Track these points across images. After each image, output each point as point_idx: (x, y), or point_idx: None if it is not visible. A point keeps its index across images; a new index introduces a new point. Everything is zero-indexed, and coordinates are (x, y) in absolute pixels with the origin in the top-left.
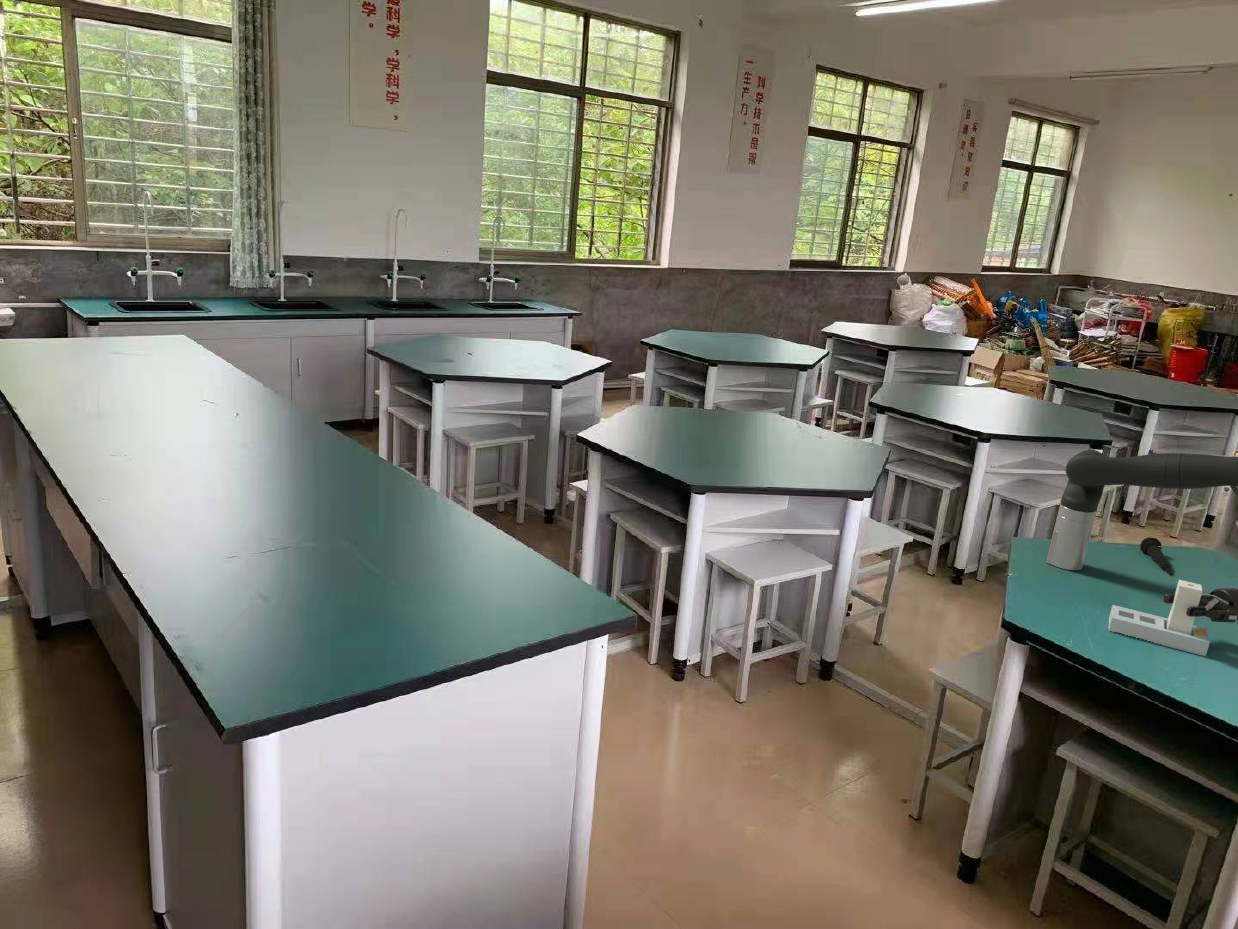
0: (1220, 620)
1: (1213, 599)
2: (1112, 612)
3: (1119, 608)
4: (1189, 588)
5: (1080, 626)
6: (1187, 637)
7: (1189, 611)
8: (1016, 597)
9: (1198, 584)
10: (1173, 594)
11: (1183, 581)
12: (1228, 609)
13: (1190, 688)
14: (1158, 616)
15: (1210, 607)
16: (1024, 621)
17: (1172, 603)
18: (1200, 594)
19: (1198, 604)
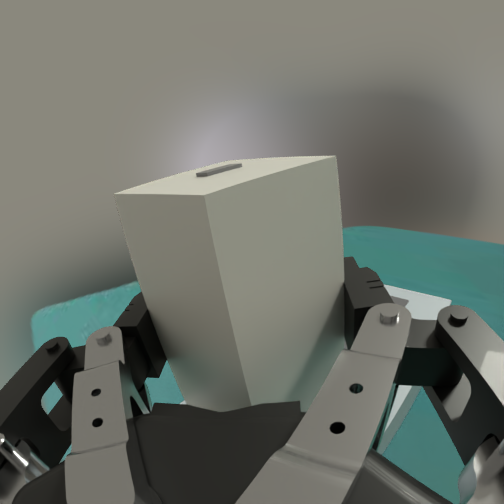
0: (51, 413)
1: (119, 444)
2: (384, 285)
3: (428, 306)
4: (183, 173)
5: None
6: (183, 403)
7: None
8: (460, 238)
9: (216, 185)
10: (344, 275)
11: (299, 159)
12: (14, 500)
13: (86, 323)
14: (398, 404)
15: (92, 356)
16: (356, 231)
17: (341, 334)
18: (126, 219)
19: (144, 295)
